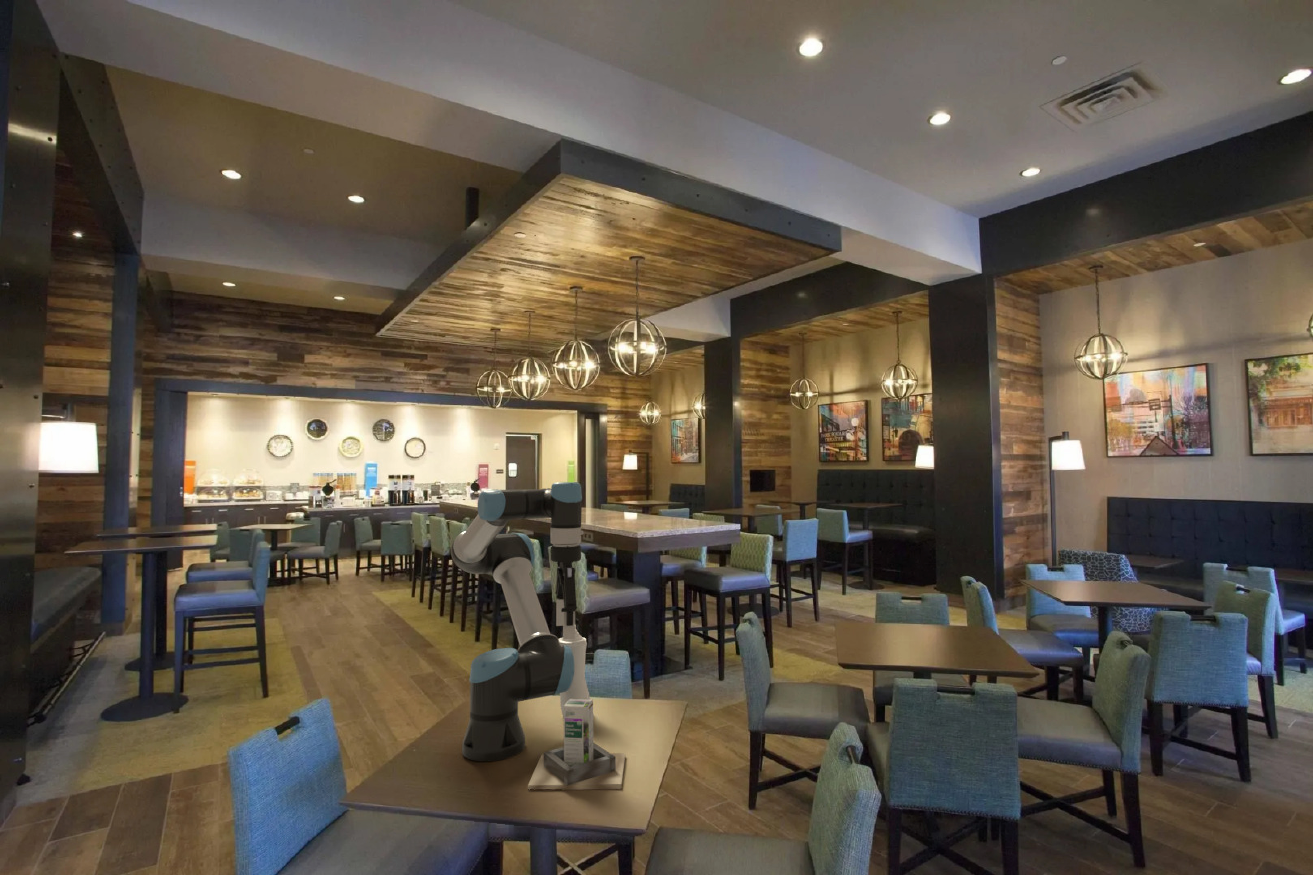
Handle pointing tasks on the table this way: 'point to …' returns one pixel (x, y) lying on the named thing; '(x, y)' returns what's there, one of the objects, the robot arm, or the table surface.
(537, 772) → the socket board
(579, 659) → the spray can
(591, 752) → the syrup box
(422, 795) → the table surface
